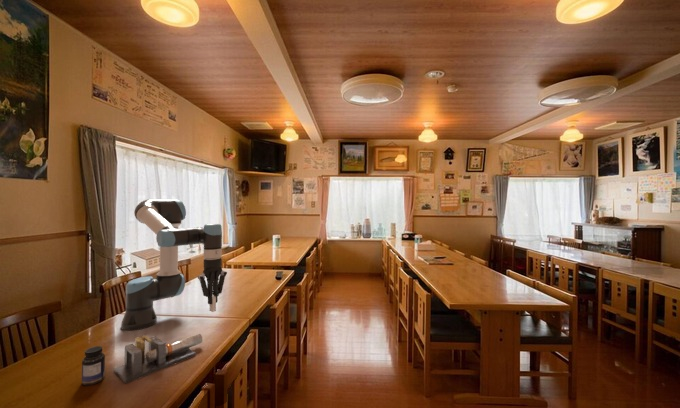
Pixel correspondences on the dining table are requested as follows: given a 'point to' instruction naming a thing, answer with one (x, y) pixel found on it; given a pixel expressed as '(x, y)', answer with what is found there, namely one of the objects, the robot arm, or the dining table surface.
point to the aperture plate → (142, 344)
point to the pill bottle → (93, 366)
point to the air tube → (176, 347)
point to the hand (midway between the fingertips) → (212, 310)
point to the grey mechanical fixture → (141, 368)
